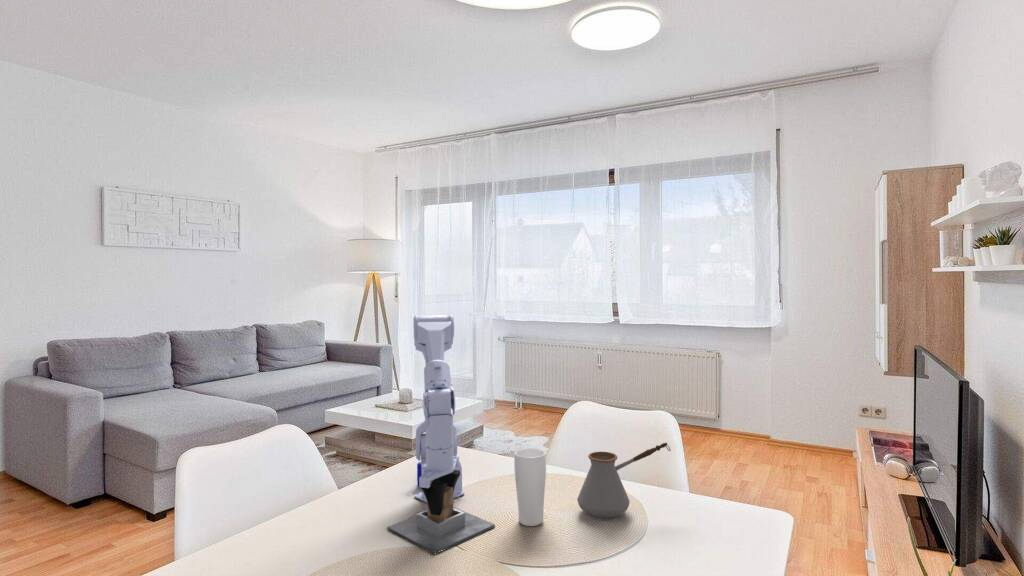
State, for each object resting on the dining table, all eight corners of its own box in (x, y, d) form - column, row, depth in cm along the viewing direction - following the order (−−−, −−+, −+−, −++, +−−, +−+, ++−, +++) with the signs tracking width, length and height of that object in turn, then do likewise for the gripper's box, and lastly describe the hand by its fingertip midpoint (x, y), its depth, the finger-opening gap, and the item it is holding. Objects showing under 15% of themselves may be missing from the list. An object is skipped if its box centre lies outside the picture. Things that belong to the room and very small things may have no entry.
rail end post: (436, 512, 120) (436, 485, 119) (453, 515, 118) (452, 487, 118) (427, 520, 116) (427, 491, 116) (445, 522, 114) (444, 494, 114)
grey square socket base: (446, 506, 128) (446, 492, 128) (494, 527, 117) (494, 512, 117) (387, 529, 117) (387, 514, 117) (434, 554, 106) (434, 538, 106)
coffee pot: (585, 526, 117) (584, 455, 117) (572, 504, 128) (571, 440, 128) (681, 519, 120) (680, 450, 120) (660, 498, 131) (659, 435, 131)
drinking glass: (551, 518, 121) (550, 449, 121) (539, 531, 115) (538, 459, 115) (523, 513, 124) (521, 446, 124) (510, 525, 118) (509, 455, 118)
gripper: (438, 434, 125) (439, 494, 125) (405, 454, 111) (406, 521, 111) (467, 437, 123) (468, 498, 123) (436, 457, 109) (438, 526, 109)
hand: (440, 509), depth 117 cm, fingers closed on rail end post, 4 cm apart
